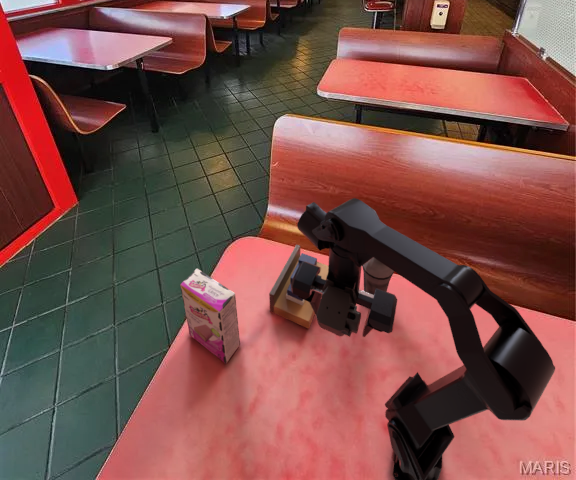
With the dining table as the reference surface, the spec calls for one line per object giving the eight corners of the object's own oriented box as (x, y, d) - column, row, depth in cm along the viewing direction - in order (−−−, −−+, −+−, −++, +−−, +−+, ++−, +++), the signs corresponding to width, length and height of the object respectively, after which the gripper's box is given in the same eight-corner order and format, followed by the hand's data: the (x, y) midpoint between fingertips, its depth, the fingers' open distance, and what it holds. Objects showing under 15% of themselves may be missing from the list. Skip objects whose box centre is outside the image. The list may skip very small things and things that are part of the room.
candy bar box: (188, 337, 73) (178, 284, 67) (204, 318, 77) (196, 266, 71) (225, 367, 68) (218, 312, 62) (241, 345, 72) (236, 291, 66)
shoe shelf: (330, 273, 88) (331, 256, 86) (308, 329, 75) (309, 310, 72) (296, 260, 92) (296, 244, 90) (269, 311, 79) (269, 293, 76)
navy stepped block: (301, 266, 87) (302, 251, 85) (317, 272, 86) (318, 257, 84) (286, 298, 79) (285, 282, 77) (302, 305, 77) (303, 290, 75)
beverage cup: (390, 317, 77) (400, 253, 70) (358, 311, 78) (364, 248, 71) (387, 289, 84) (396, 228, 76) (358, 284, 85) (364, 224, 78)
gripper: (277, 282, 55) (279, 343, 61) (392, 330, 48) (382, 394, 53) (302, 236, 64) (302, 292, 70) (402, 269, 57) (392, 329, 63)
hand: (340, 324), depth 64 cm, fingers open, 9 cm apart
